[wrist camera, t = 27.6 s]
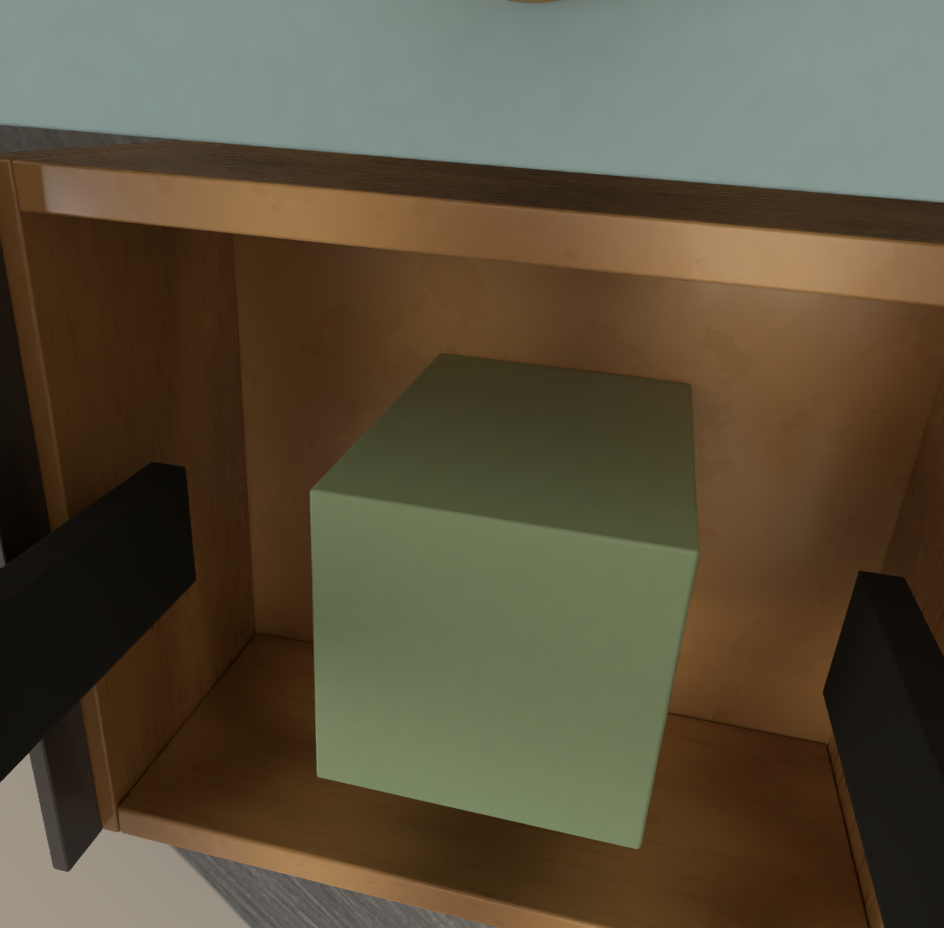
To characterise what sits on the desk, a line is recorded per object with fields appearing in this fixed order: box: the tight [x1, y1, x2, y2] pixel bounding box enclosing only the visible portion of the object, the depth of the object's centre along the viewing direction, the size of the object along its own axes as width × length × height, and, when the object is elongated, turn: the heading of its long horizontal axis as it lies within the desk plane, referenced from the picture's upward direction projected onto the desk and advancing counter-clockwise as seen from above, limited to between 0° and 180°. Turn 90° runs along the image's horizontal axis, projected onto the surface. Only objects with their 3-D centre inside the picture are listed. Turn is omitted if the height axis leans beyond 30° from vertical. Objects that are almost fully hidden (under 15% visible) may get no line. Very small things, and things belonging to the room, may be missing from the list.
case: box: [0, 140, 944, 928], centre depth 17 cm, size 18×15×9 cm
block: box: [310, 353, 699, 849], centre depth 17 cm, size 6×6×8 cm
